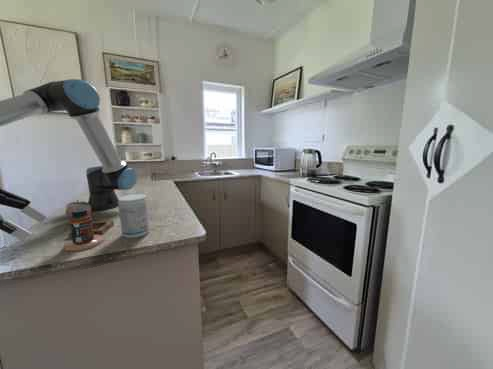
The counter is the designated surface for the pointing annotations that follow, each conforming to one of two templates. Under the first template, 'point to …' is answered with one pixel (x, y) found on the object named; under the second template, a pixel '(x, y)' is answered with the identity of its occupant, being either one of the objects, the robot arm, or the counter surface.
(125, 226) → the supplement tub
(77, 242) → the supplement bottle
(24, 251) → the counter surface
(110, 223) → the holder
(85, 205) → the decorative fruit
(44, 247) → the counter surface
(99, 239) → the peach dome coaster
